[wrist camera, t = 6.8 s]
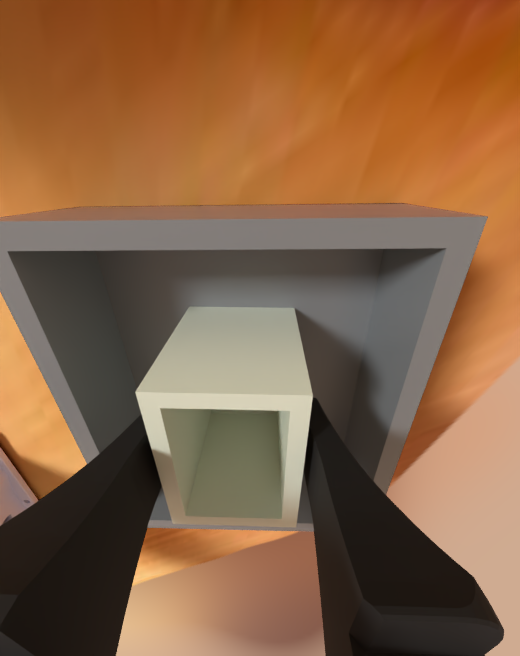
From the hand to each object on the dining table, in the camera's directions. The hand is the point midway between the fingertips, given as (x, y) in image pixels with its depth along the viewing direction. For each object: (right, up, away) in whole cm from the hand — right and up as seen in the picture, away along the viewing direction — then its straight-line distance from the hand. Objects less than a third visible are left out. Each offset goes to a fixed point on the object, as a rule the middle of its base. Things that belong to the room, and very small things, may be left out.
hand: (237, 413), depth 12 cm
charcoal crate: (0, +2, +4) cm, 4 cm away
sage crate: (0, +2, +3) cm, 3 cm away
